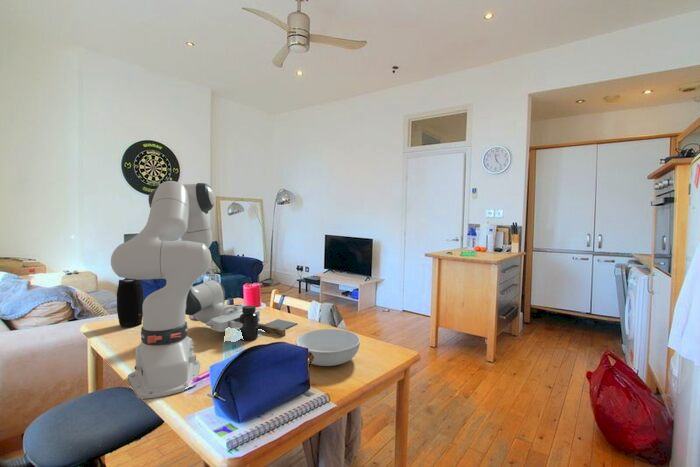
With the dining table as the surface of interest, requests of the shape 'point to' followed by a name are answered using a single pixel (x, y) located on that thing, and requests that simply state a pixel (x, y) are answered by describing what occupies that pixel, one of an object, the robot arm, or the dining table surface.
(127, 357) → the dining table surface
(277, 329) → the walnut rail
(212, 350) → the dining table surface
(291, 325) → the grey mat
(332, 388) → the dining table surface
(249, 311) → the supplement bottle
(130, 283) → the portable speaker
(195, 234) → the robot arm
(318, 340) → the serving bowl
